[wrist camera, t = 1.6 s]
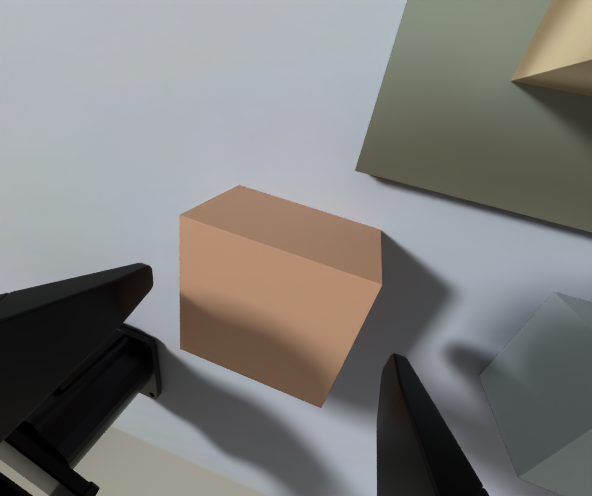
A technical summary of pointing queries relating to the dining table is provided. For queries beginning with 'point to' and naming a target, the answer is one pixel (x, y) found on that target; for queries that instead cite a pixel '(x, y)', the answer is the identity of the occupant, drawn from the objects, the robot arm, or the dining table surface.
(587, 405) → the gray brick
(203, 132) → the dining table surface
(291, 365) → the terracotta brick
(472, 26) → the build board
